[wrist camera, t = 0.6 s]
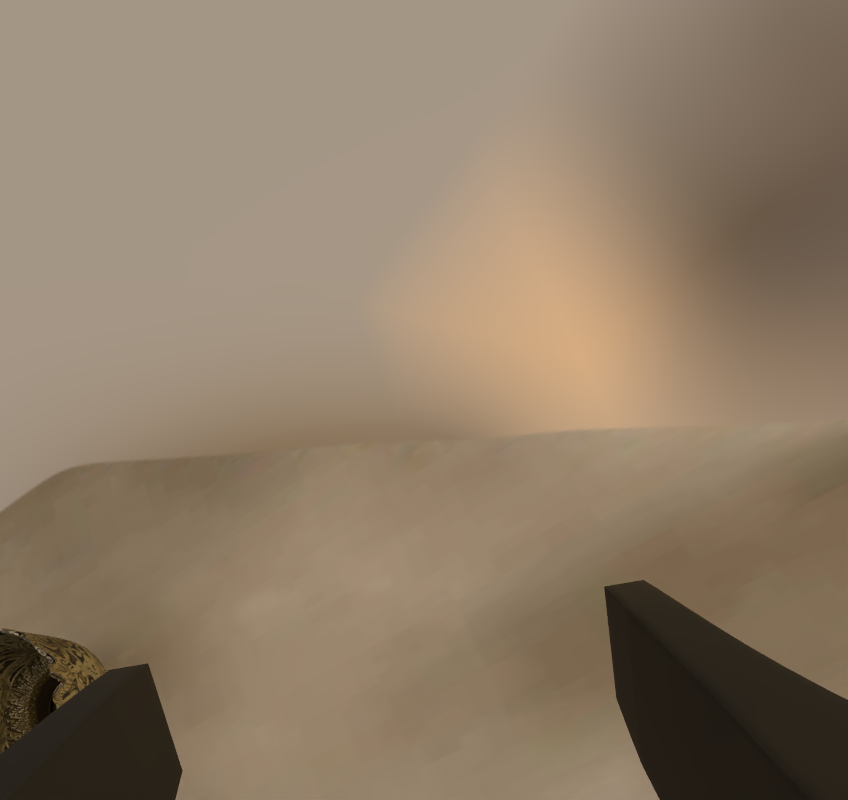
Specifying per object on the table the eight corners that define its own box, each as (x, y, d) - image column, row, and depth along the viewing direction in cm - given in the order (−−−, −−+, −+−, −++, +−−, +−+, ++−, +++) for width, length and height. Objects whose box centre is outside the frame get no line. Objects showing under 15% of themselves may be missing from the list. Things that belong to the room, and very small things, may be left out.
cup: (23, 782, 34) (-118, 825, 26) (35, 638, 37) (-89, 641, 29) (151, 766, 33) (44, 806, 26) (155, 621, 36) (59, 619, 28)
